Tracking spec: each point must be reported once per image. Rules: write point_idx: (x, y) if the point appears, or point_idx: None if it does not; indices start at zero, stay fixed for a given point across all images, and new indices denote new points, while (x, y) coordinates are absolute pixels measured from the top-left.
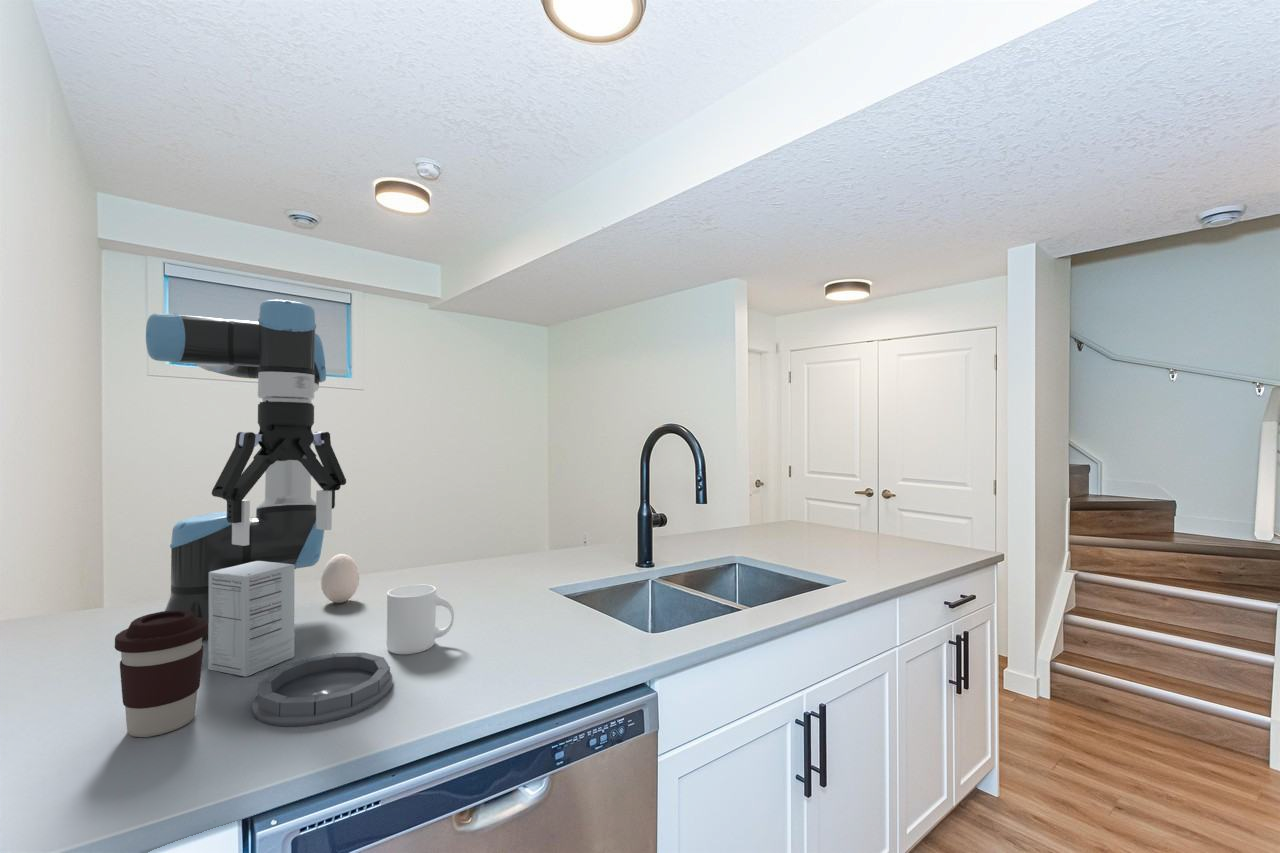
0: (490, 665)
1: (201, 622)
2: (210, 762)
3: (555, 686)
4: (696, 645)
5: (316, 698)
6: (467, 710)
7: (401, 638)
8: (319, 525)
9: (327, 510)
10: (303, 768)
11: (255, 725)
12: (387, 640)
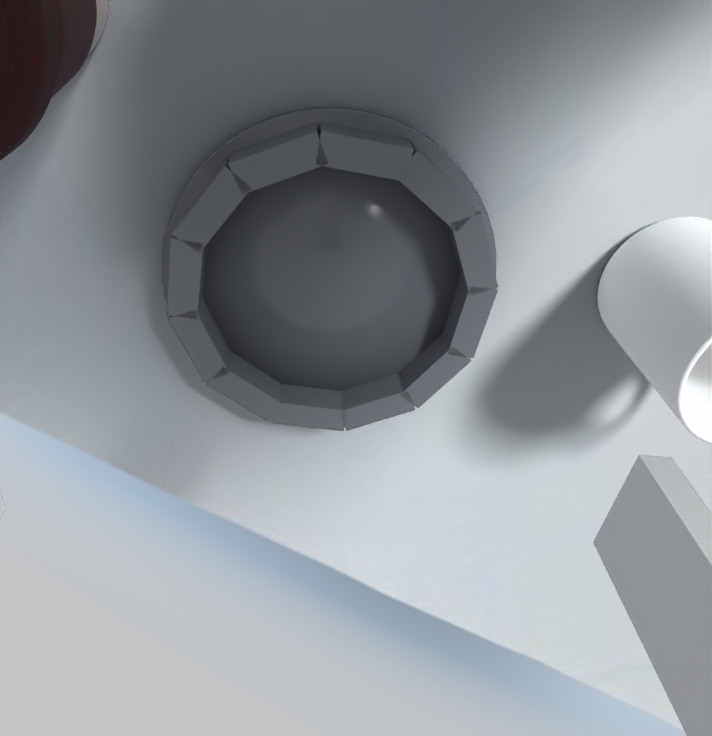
0: (550, 499)
1: (2, 112)
2: (6, 286)
3: (473, 615)
4: (667, 714)
5: (219, 374)
6: (353, 549)
7: (613, 319)
8: (636, 506)
9: (659, 677)
10: (88, 446)
11: (149, 243)
12: (634, 255)
